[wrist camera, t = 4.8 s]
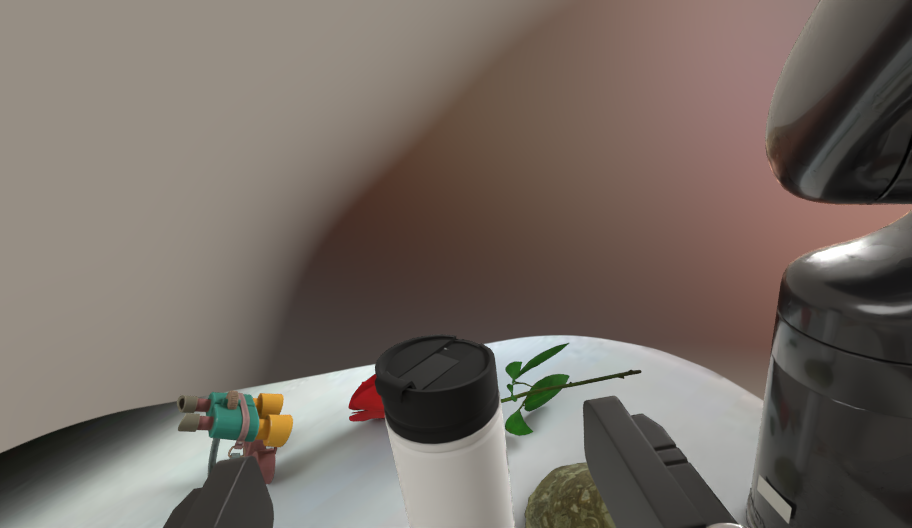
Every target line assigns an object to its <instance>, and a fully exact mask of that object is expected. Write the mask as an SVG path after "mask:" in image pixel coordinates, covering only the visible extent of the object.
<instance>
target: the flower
mask: <svg viewBox="0 0 912 528" xmlns="http://www.w3.org/2000/svg"><path fill="white" fill-rule="evenodd" d="M568 344H569V343H567V344H562V345H559V346H556V347H553V348H551V349H549V350H547V351H545V352H543V353H541V354H539V355H537V356H536V357H534V358H533V359H532V360H530V361H529V362H528V363H527V364H526V365H525V367H523V368H522V370H521V371H520V369H521V364H522V362H512V363H510V364H509V365H507V367H506V369H505V370H506V372H507V373H508V374H509V375H510V377H511V378H512V379H513V381H512V385H511V384H508V385H507V388H508V389H509V390H510V392H511V393H512V394H511V397H508V398H504V399H501V403H503V402H507V401H511V400H513V401H514V402H516V401H517V398H520V397H523V396H526V395H527V397H526V399H525V400H524V401H523V403H522V405H521V407H520V408H519V409H518V410H517V411H516V412H515V413H514V414H512V415H511V416H510V417H509V418H508V419H507V421H506V424H505V429H506V430H507V431H508V432H510V433H512V434H515V435H526V434H529V433H532V432H533V431H532V430H531V429H530V428H529V427H528V426H527V425H526V423H525V422H524V420H523V417H522V415H521V412H520V409H521V408H522V406H525V408H524V409H525V410H527V411H532V410H535V409H537V408H539V407H540V406H542V405H543V404H545V403H546V402H548V401H549V400H550V399H551V398H553V397H554V396H555V395H556V394H557V393H558V392H559V391H560V390H561V389H562V388H567V387H573V386H578V385H583V384H588V383H593V382H598V381H602V380H607V379H612V378H617V377H618V378H623V379H624V376H627V375H633V374H639V373H641V370H634V371H632V370H630V371H628V372H624V373H619V374H614V375H609V376H604V377H599V378H594V379H589V380H585V381H580V382H575V383H572V382H570V383H569V384H566V382H567V380H568V378H569V376H568V375H564V374H555V375H550V376H547V377H545V378H543V379H542V380H539V381H538V382H537V383H535V384H534V385H533V386H530V385H528V384H526V383H520V382H516V381H515V379H517V378H518V377H520V376H521V375H522V374H524V373H525V372H527V371H528V370H530V369H531V368H534V367H536V366H538V365H539V364H541V363H542V362H544V361H546V360H547V359H549V358H550V357H552V356H554V355H555V354H557V353H558V352H559V351H561V350H562V349H563V348H564V347H565V346H567V345H568ZM376 378H377V377H376V374H374V375H373V376H372V377H370V378H369V379H368V380H366V381H365V382H362V384H361V385H360V386H359V387H358V389H357V390H356V391H355V393H354V394H353V395H352V398H351V400H350V403H349V409H352V410H363V411H358V412H353V413H358V414H355V415H352V416H350V417H349V420H350V421H366V420H369V419H375V418H385V412H384V406H383V403H382V399H381V396H380V395H379V394H378V393H377V392H376V387H375V379H376ZM514 382H515V383H514ZM513 383H514V384H525V385H527V386H530V387H532V388H531V389H530V391H527V392H524V393H521V394H518V395H515V396H514V395H513V385H514V384H513ZM524 403H525V405H524Z"/></svg>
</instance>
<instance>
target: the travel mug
mask: <svg viewBox="0 0 912 528" xmlns="http://www.w3.org/2000/svg"><path fill="white" fill-rule="evenodd" d="M375 373H376V377H377V378H376V379H375V387H376V392H377V393H378V394H379V395H380V396H381V399H382V403H383V406H384V412H385V421H386V426H387V428H388V434H389V439H390V443H391V447H392V452H393V456H394V460H395V465H396V469H397V473H398V478H399V482H400V486H401V490H402V495H403V499H404V503H405V508H406V512H407V516H408V521H409V525H410V528H515V521H514V512H513V503H512V494H511V485H510V477H509V468H508V459H507V450H506V442H505V433H504V424H503V415H502V408H501V398H500V392H499V390H498V381H497V372H496V364H495V357H494V353H493V352H492V350H491V349H490V348H488V347H487V346H485V345H483V344H478V343H475V342H472V341H468V340H464V339H456V336H453V335H429V336H422V337H417V338H413V339H410V340H406V341H403V342H401V343H399V344H396V345H394V346H393V347H391V348H389V349H388V350H386V351H385V352H384V353H383V354H382V355H381V356H380V357H379V359H378V360H377V362H376V365H375Z"/></svg>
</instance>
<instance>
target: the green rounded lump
mask: <svg viewBox="0 0 912 528" xmlns="http://www.w3.org/2000/svg"><path fill="white" fill-rule="evenodd" d="M525 517H526V528H616V526H615V524H614V522H613V520H612V518H611V516H610V514H609V512H608V510H607V508H606V506H605V503H604V501H603V499H602V497H601V495H600V493H599V491H598V489H597V487H596V485H595V483H594V481H593V479H592V477H591V474H590V472H589V469H588V465H587V463H577V464H573V465H567V466H561V467H559V468H556V469H554V470H553V471H551V472H550V473H549V474H548V475H547V476H546V477H545V478H544V479H543V480H542V481H541V483H540V484H539V485H538V486H537V488H536V489H535V491H534V492H533V494H532V495H531V496H530V497H529V499H528V506H527V508H526V511H525Z"/></svg>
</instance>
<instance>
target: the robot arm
mask: <svg viewBox="0 0 912 528" xmlns="http://www.w3.org/2000/svg"><path fill="white" fill-rule="evenodd" d="M765 139H766V140H765V141H766V153H767V158H768V162H769V166H770V168H771V170H772V172H773V174H774V176H775V178H776V180H777V181H778V182H779V183H780V185H781V186H782V187H783V188H784V189H785V190H787V191H789V192H790V193H792V194H793V195H795V196H796V197H799V198H802V199H806V200H809V201H813V202H818V203H825V204H835V205H864V204H867V205H878V204H879V205H881V204H912V0H820V1H819V3H818V5H817V6H816V8H815V9H814V11H813V13H812V15H811V16H810V18H809V19H808V21H807V23H806V25H805V27H804V28H803V30H802V32H801V34H800V35H799V37H798V39H797V41H796V42H795V45H794V46H793V48H792V50H791V52H790V54H789V56H788V58H787V60H786V63H785V65H784V67H783V70H782V72H781V75H780V77H779V80H778V82H777V85H776V88H775V91H774V95H773V98H772V101H771V105H770V109H769V113H768V119H767V124H766V137H765ZM583 418H584V449H585V457H586V461H587V465H588V469H589V472H590V474H591V477H592V479H593V481H594V483H595V485H596V487H597V489H598V491H599V493H600V495H601V497H602V499H603V501H604V503H605V506H606V508H607V510H608V512H609V514H610V516H611V518H612V520H613V522H614V524H615V526H616V528H747V527H745V526H741V525H739V524H738V523H737V522H736V521H735V519H734V518H733V517H732V516H731V514H730V513H729V512H728V511H727V509H726V508H725V507H724V505H723V504H722V503H721V502H720V500H719V499H718V498H717V496H716V495H715V494H714V493H713V491H712V490H711V489H710V487H709V486H708V485H707V484H706V482H705V481H704V480H703V479H702V477H701V476H700V475H699V473H698V472H697V471H696V470H695V468H694V467H693V466H692V464H691V463H688V461H687V458H686V457H685V455H684V454H683V453H682V452H681V450H680V449H679V448H677V447H676V444H675V443H674V441H673V440H672V439H671V437H670V436H669V435H668V434H667V432H666V431H665V430H664V429H663V427H662V426H660V425H659V424H657V423H656V422H654V421H653V420H651V419H650V418H648V417H647V416H645V415H644V414H637V415H631V416H630V414H629V413H628V411H627V410H626V409H625V407H624V406H623V404H622V403H621V402H620V400H619V399H618V398H617V397H616V396H609V397H604V398H598V399H592V400H586V401H584V404H583ZM273 520H274V511H273V504H272V501H271V498H270V495H269V492H268V490H267V487H266V484H265V481H264V478H263V476H262V473H261V470H260V467H259V464H258V462H257V460H256V458H255V457H254V456H246V457H240V458H234V459H228V460H222V461H219V462H217V463H216V464H215V465H214V467H213V469H212V471H211V472H210V474H209V476H208V478H207V480H206V482H205V483H204V485H203V487H202V488H197V489H193V490H192V491H191V492H190V493H189V495H188V496H187V497H186V498H185V499H184V500H183V501H182V502H181V503H180V504H179V505H178V506H177V507H176V508H175V509H174V510H173V511H172V513H171V515H170V517H169V518H168V520H167V522H166V523H165V525H164V527H163V528H273ZM747 520H748V524H749V527H750V528H912V209H911V210H910V211H909V212H908V213H907V214H905V215H904V216H902V217H901V218H899V219H898V220H896V221H894V222H893V223H891V224H889V225H887V226H885V227H883V228H881V229H879V230H877V231H874V232H872V233H870V234H867V235H864V236H861V237H858V238H855V239H852V240H849V241H845V242H842V243H838V244H834V245H830V246H827V247H823V248H820V249H816V250H813V251H810V252H808V253H806V254H804V255H801V256H800V257H798V258H796V259H795V260H793V261H792V262H791V263H790V264H789V265H788V267H787V268H786V270H785V272H784V274H783V277H782V281H781V286H780V292H779V299H778V306H777V313H776V319H775V326H774V333H773V340H772V348H771V355H770V363H769V369H768V377H767V383H766V390H765V397H764V404H763V411H762V418H761V425H760V432H759V439H758V445H757V452H756V459H755V466H754V473H753V480H752V487H751V488H750V494H749V497H748V503H747Z"/></svg>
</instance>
